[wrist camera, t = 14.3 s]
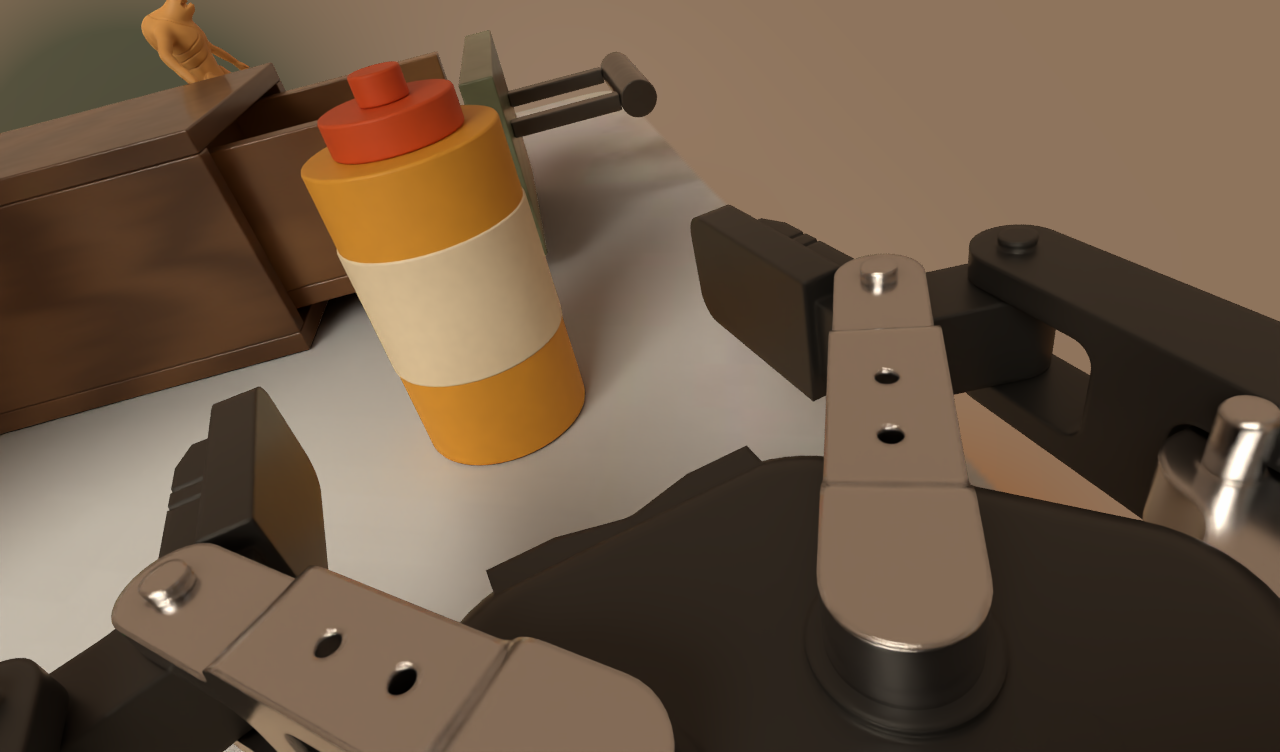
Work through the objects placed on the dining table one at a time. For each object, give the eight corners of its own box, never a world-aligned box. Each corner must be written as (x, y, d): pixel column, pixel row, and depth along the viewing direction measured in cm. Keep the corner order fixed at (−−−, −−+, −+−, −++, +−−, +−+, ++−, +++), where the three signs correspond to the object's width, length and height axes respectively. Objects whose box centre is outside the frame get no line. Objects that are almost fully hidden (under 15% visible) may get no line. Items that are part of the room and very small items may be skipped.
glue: (597, 438, 20) (476, 61, 14) (425, 487, 20) (234, 125, 14) (578, 348, 24) (478, 25, 18) (434, 388, 24) (289, 75, 18)
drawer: (641, 143, 37) (610, -3, 33) (688, 217, 29) (655, 32, 25) (292, 237, 37) (220, 100, 33) (234, 341, 28) (127, 172, 24)
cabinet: (353, 234, 38) (272, 61, 33) (310, 349, 28) (185, 129, 23) (95, 305, 37) (-27, 140, 32) (-38, 445, 28) (-240, 241, 23)
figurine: (348, 223, 39) (231, -23, 32) (237, 256, 39) (95, 12, 32) (359, 177, 46) (265, -34, 39) (265, 205, 46) (153, -5, 39)
